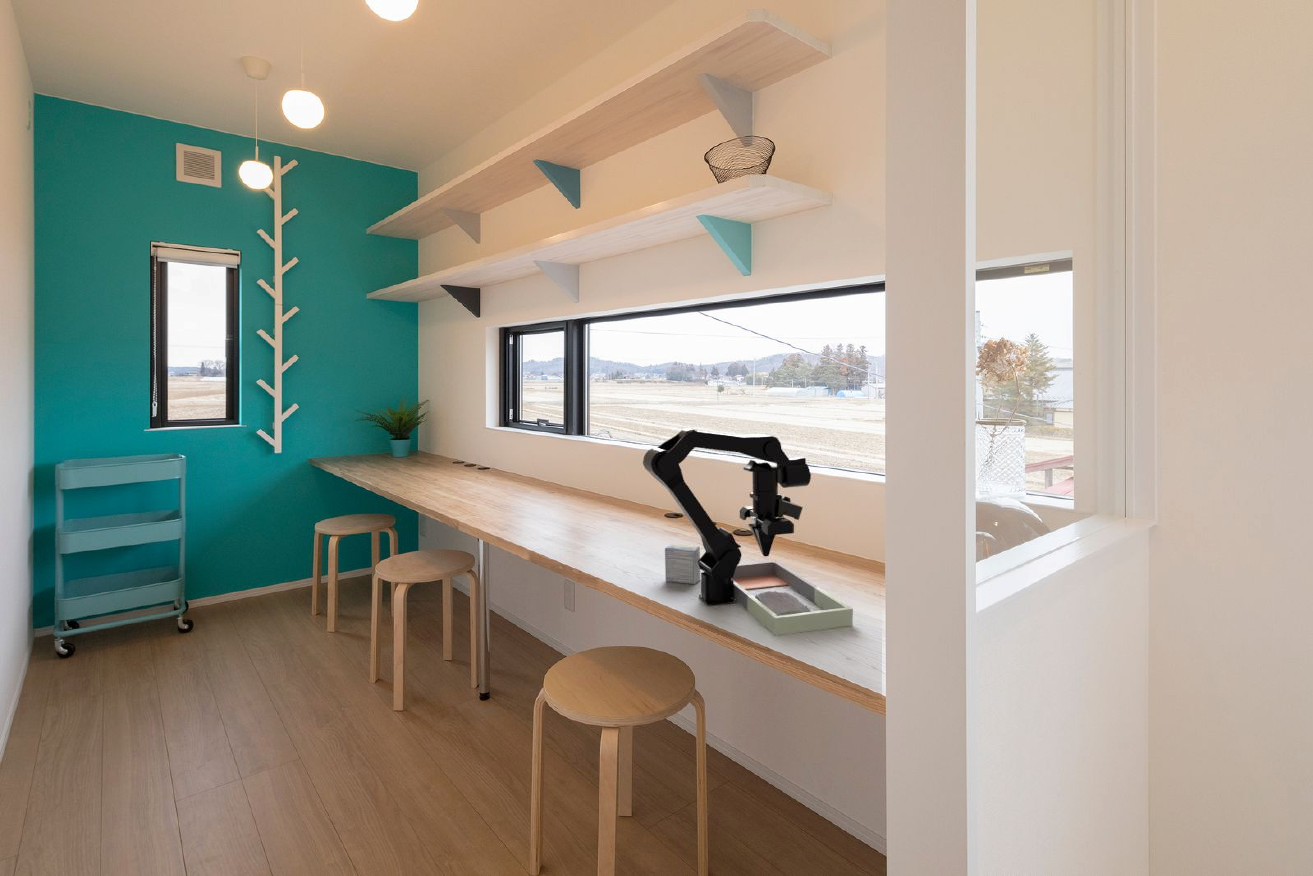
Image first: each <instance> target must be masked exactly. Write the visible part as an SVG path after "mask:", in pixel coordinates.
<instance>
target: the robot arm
mask: <svg viewBox="0 0 1313 876" xmlns="http://www.w3.org/2000/svg"><path fill="white" fill-rule="evenodd" d="M695 448H696V449H697V448H698V449H706V450H715V451H722V452H729V453H730V452H731V453H737V454H738V453H739V454H742V455H745V456H748V457H751V458H754V459H758V460H761V461H764V462H756V460H753V459H750V460H749V461H748V463H747V464H745V466H743V470H744V471H746V472H752V477H751V478H752V492H749V498H751V499H752V505H747V506H746V505H744V506H742V507H741V508H740V510H739V519H741V520H743V521H746V520H747V518H750V519H751V523H749V524H747V525H748V527H749V528H750V530H751V533H752V535H753V537H754V539H755V541H756V543H757V545H758V547H759V550H760V552H761V554H762V556H763V557H765V558H767V557H769V556H770V553H771V550H772V546H773V543H774V539H775V537H776V536H778V535H779V536H780V535H790V534H794V533H795V524H794V523H793V522H792V521H791V520H790V519H788V518H786V517H784V516H787V517H789V518H793V519H794V520H798V521H799V520H800V517H801V514H802V510H803V506H801V505H799V504H796V503H793V502H791V501H792V500H791V498H790V497H789V496H786V495H782V494H780V493H779V487H778V485H780V486H781V487H782V488H784V489H787V488H789V489H790V488H798V487H799V488H800V487H807V486H809V484H810V482H811V479H812V477H811V476H812V472H811V471H810V467H809V466H808V463H807V462H806V460H807V459H806V457H802V456H799V457H798V456H797V457H793V458H789V457H788V456H787V454H786V453H785V452H784V450H783V449H782V444H781V442H780V440H779V438H778V437H776V436H773V435H767V434H762V433H755V434H744V435H731V434H725V433H717V432H709V431H703V430H702V431H700V430H696V429H692V428H683V429H682V430H680V431H679V432H678V433H677V434H676V435H674V436H673V437H670V438H669V439H667V440H665V441H664V442H663V443H660V445H658V447H653V448H650V449H648V450H647V451H646V453H645V454H644V456H643V460H642V464H643V467H644V469H645V470H646V471H647V472H648V473H649V474H650V475H651V476H652V477H653V478H654V479H655V480H656V481H657V482H659V483H660V484H661V485H662V486H663V487H664V488H665V489H666V490H667V491H668V492H669V494H670V496H671V497H672V498H673V499H674V501H675V502H676V503H677V505H678V506H679V507H680V509H681V510H682V512H683V514H684V515H685V517H687V519H688V521H690V524H692V526H693V528H694V529H695V530H696V531H697V533H698V534H699V536H700V538H701V542H702V543H701V544H702V546H703V548H704V550H705V552H704V554H702V555H701V556H700V559H699V560H698V565H699V568H700V571H703V572H700V585H701V586H700V588H701V589H700V594H698V597H699V599H701V601H702V602H703V603H705V605H706V606H715V605H716V606H718V605H727V604H734V603H735V600H734V599H733V597H734V580H733V579H731V578H733V576H734V573H735V569H736V566H737V565H738V564H740V562H741V559H742V557H743V556H742V551H741V548H742V546H741V545H740V544H738V543H737V541H736V539H735V538H734V535H733V534H732V533H731V532H730V531H728V530H727V529H725V528H723V527H720V528H718V527H717V526H716V524H715V523H714V521H713V520H712V519H711V517H710V515H709V514H708V513H707V512H706V509H704V507H703V506H702V505H701V503H700V502H699V500H698V498H697V497H696V496H695V494H694V492H693V491H692V490H691V488H690V487H689V486H688V485H687V483H686V482H685V479H684V475H683V472H682V468H681V467H680V463H682V462H683V461H684V460H686V458H687V457H688V456H689V454H690V453H692V451H693V450H694V449H695ZM765 461H766V462H765ZM768 462H769V463H768ZM770 463H773V464H776V465H771V464H770Z"/></svg>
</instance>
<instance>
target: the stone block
mask: <svg viewBox="0 0 1313 876" xmlns="http://www.w3.org/2000/svg"><path fill="white" fill-rule="evenodd" d="M754 597H755V598H756V599H757V600H759V601H760V602H761V603H762V604H764V605H765V606H766V607H767V608H769V609H770V610H771V611H772V612H774V613H775V614H776V615H777V616H781V615H789V614H797V613H805V612H811V609H810V608H809V607H808V605H805V604H804V603H802V602H800V600H799V599H798V598H796V597H795V596H794V595H792V594H790V593H787V592H781V591H780V592H778V591H776V590H775V591H769V590H768V591H765V592H764V591H763V592H760V593H758V594H756V595H755V596H754Z"/></svg>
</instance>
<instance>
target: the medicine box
mask: <svg viewBox="0 0 1313 876" xmlns="http://www.w3.org/2000/svg"><path fill="white" fill-rule="evenodd" d="M700 550H701V546H699V545H690V544H689V545H688V544H679V543H678V544H677V543H670V544H669V545H667V546H666V547H665V548H664V560H665V561H664V567H665V568H664V569H665V574H664V575H665V582H668V583H669V582H670V583H680V584H691V585H696V584H697V583H698V582H699V581H701V569H700V568H699V565H698V560H699V559H700V558H701V551H700Z"/></svg>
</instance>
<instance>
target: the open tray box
mask: <svg viewBox="0 0 1313 876" xmlns="http://www.w3.org/2000/svg"><path fill="white" fill-rule="evenodd" d="M731 579H733V580H734V597H733V599H734V602H737V603H738V604H739V605H740V606H741V607H742V608H743V609H745V611H747V612H748V613H749V614H750V615H751V616H752V617H754V619H756V620H757V621H758V622H759V623H760V624H762V625H763V626H764V627H765V628H766V629H767V630H768V631H770V633H772V634H773V635H774V636H781V635H783V636H784V635H788V634H789V635H791V634H796V633H806V632H812V631H813V632H814V631H820V630H829V629H836V628H842V627H851V626H854V625H853V623H854V622H853V621H854V620H853V618H854V613H853V612H854V609H853V607H850V606H849V605H848V604H846V603H844V602H843V601H841V600H839V599H838V598H836V597H835V596H833V595H831V594H830V593H828V592H827V591H825V590H824V589H822V588H821V587H819V586H817V585H816V584H813V583H812V582H811V581H809V580H808V579H806V578H805V577H802V576H801V575H800V574H798V573H797V572H795V571H794V570H791V569H789V568H788V567H787V566H785V565H783V564H782V563H780V562H778V561H777V560H771V561H760V562H748V563H741V564H740V563H739V564H738V565H737V566H736V569H735V573H734V576H733V578H731ZM785 586H788V587H790V588H792V590H794V591H796V592H798V593H799V594H800V595H801V596H803V597H804V598H806V599H807V600H809V601H811V603H813V604H815V605H816V606H818V607H819V608H821V610H815V611H810V612H805V613H797V614H789V615H781V616H777V615H776V614H775V613H774V612H772V611H771V610H770V609H769V608H767V607H766V606H765V605H764V604H762V603H761V602H760V601H759V600H757V599H756V598H755V596H754V595H752V594H751V593H750V592H749V591H750V590H758V589H766V588H775V587H785ZM748 590H749V591H748Z"/></svg>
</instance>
